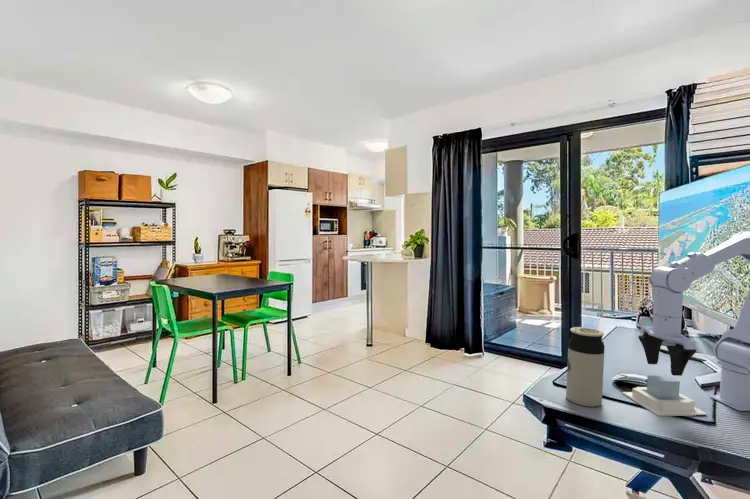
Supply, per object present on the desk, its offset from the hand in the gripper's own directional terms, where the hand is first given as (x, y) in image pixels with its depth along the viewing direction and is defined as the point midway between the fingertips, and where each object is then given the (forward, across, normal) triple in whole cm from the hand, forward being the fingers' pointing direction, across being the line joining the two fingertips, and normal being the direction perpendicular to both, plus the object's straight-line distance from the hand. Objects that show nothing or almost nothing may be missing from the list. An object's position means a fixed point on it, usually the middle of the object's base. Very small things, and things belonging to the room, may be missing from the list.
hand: (664, 369), depth 95 cm
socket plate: (+9, 0, 0) cm, 9 cm away
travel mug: (+9, -2, -19) cm, 21 cm away
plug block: (+8, 0, 0) cm, 8 cm away
